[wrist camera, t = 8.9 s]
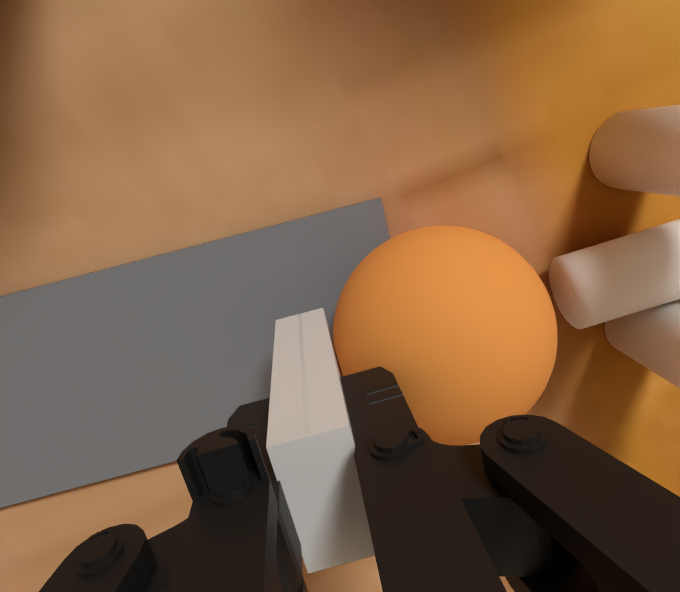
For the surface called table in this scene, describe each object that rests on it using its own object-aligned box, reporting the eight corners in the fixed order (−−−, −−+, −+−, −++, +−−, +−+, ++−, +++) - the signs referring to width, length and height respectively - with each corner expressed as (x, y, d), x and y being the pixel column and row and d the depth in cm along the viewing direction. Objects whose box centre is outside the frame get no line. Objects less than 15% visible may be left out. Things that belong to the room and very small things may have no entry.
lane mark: (-21, 510, 18) (-24, 514, 17) (-123, 328, 15) (-128, 330, 15) (422, 391, 18) (423, 394, 18) (379, 197, 16) (381, 198, 16)
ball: (453, 535, 11) (577, 438, 15) (485, 262, 9) (617, 233, 13) (289, 419, 15) (419, 368, 19) (289, 219, 13) (432, 207, 17)
